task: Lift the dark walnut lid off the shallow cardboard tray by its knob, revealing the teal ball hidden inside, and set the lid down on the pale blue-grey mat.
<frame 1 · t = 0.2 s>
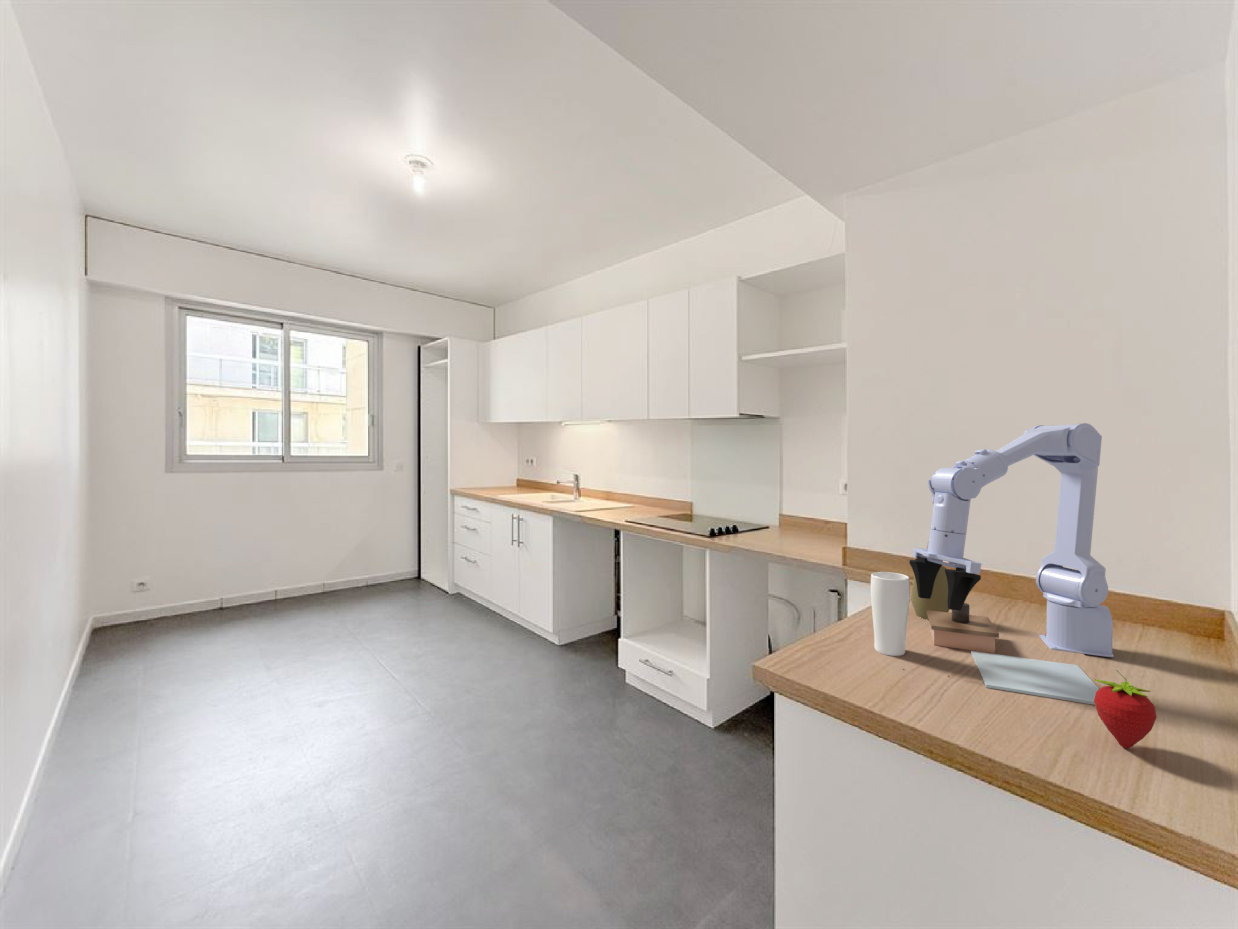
hand: (938, 603, 98), 11 cm above the table, tool pointing down, fingers open, 7 cm apart
strawberry: (1123, 748, 69), on the table
lid: (960, 625, 106), point 3 cm above the table, touching shallow cardboard tray
mat: (1033, 677, 90), on the table
squeeze bottle: (930, 618, 122), on the table
shallow cardboard tray: (960, 642, 106), on the table
white cup: (889, 653, 101), on the table
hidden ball: (960, 640, 106), resting on shallow cardboard tray
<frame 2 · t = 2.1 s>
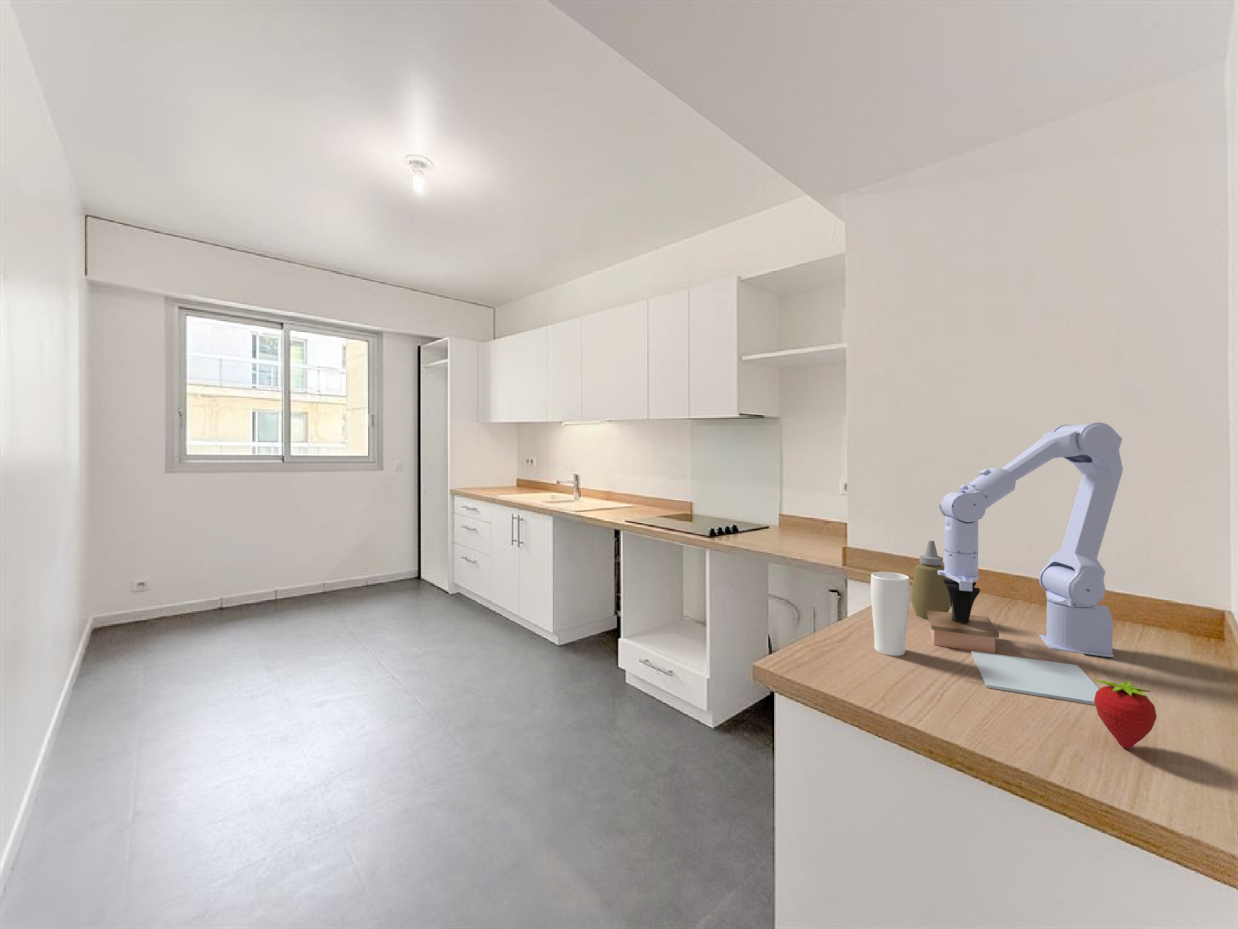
hand: (960, 617, 106), 5 cm above the table, tool pointing down, fingers closed on lid, 3 cm apart
lid: (960, 625, 106), point 3 cm above the table, touching shallow cardboard tray, gripper
everything else where it was.
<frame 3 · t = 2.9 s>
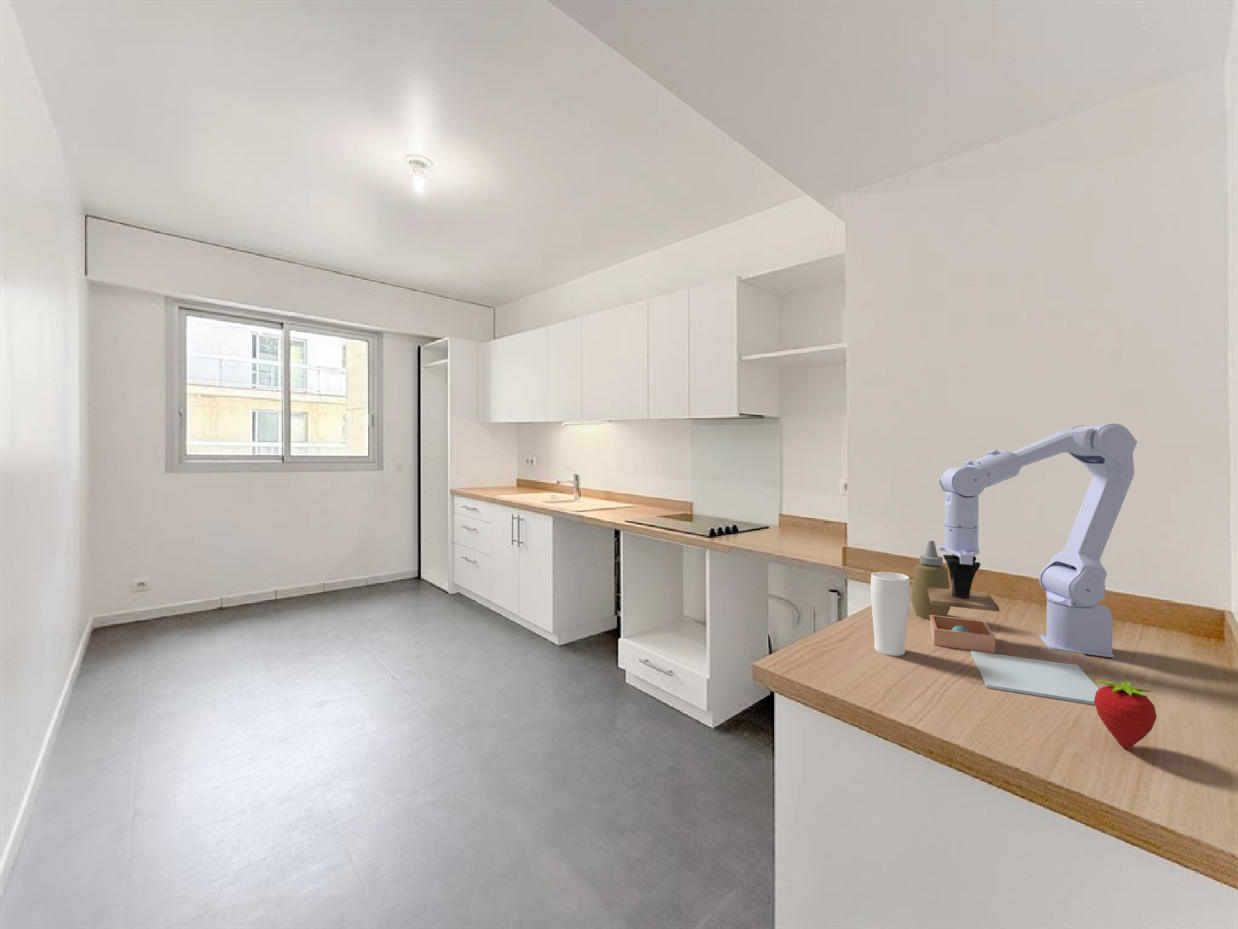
hand: (960, 592, 106), 10 cm above the table, tool pointing down, fingers closed on lid, 3 cm apart
lid: (960, 600, 106), point 9 cm above the table, touching gripper
everything else where it was.
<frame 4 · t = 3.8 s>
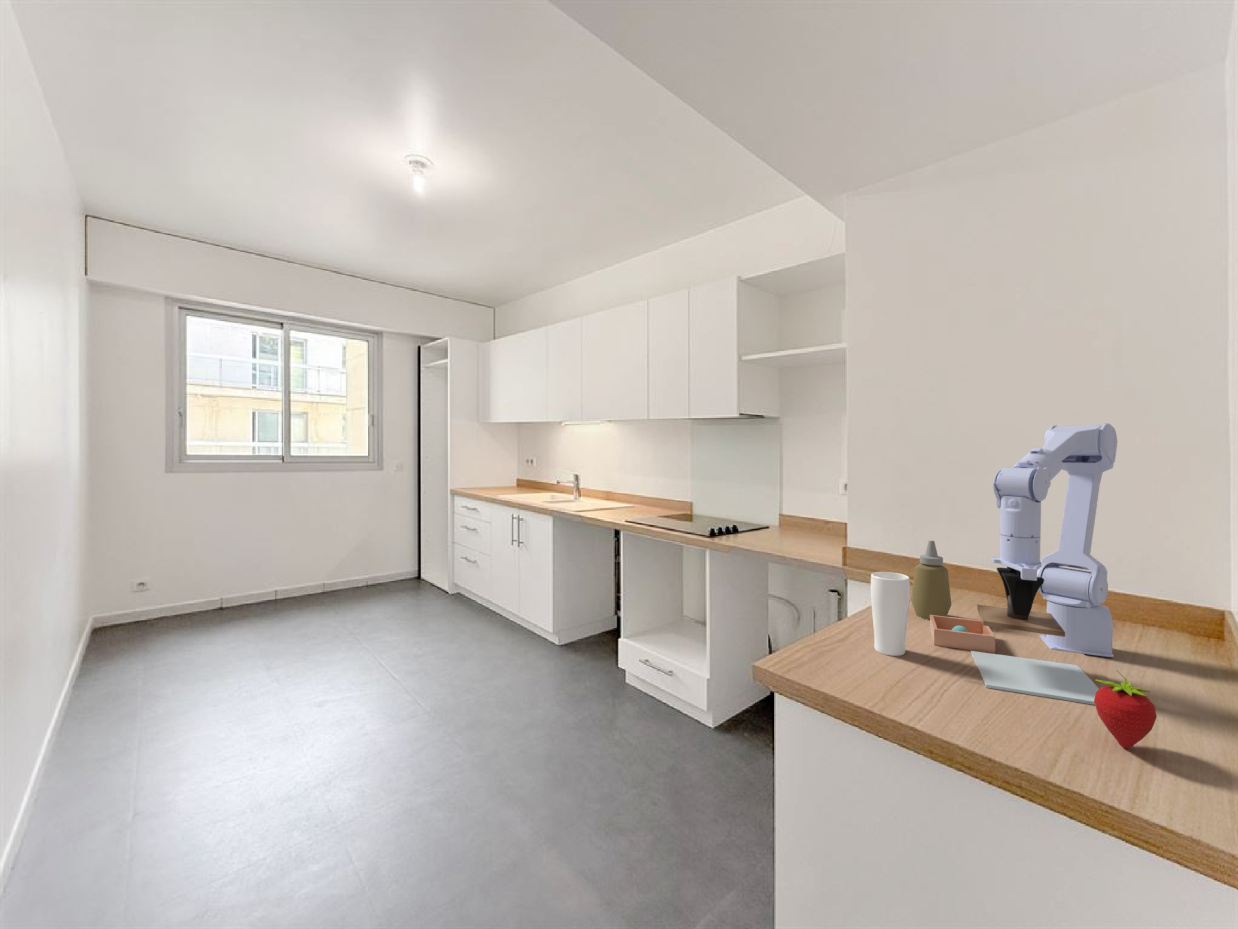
hand: (1018, 611, 93), 10 cm above the table, tool pointing down, fingers closed on lid, 3 cm apart
lid: (1017, 621, 93), point 9 cm above the table, touching gripper
everything else where it was.
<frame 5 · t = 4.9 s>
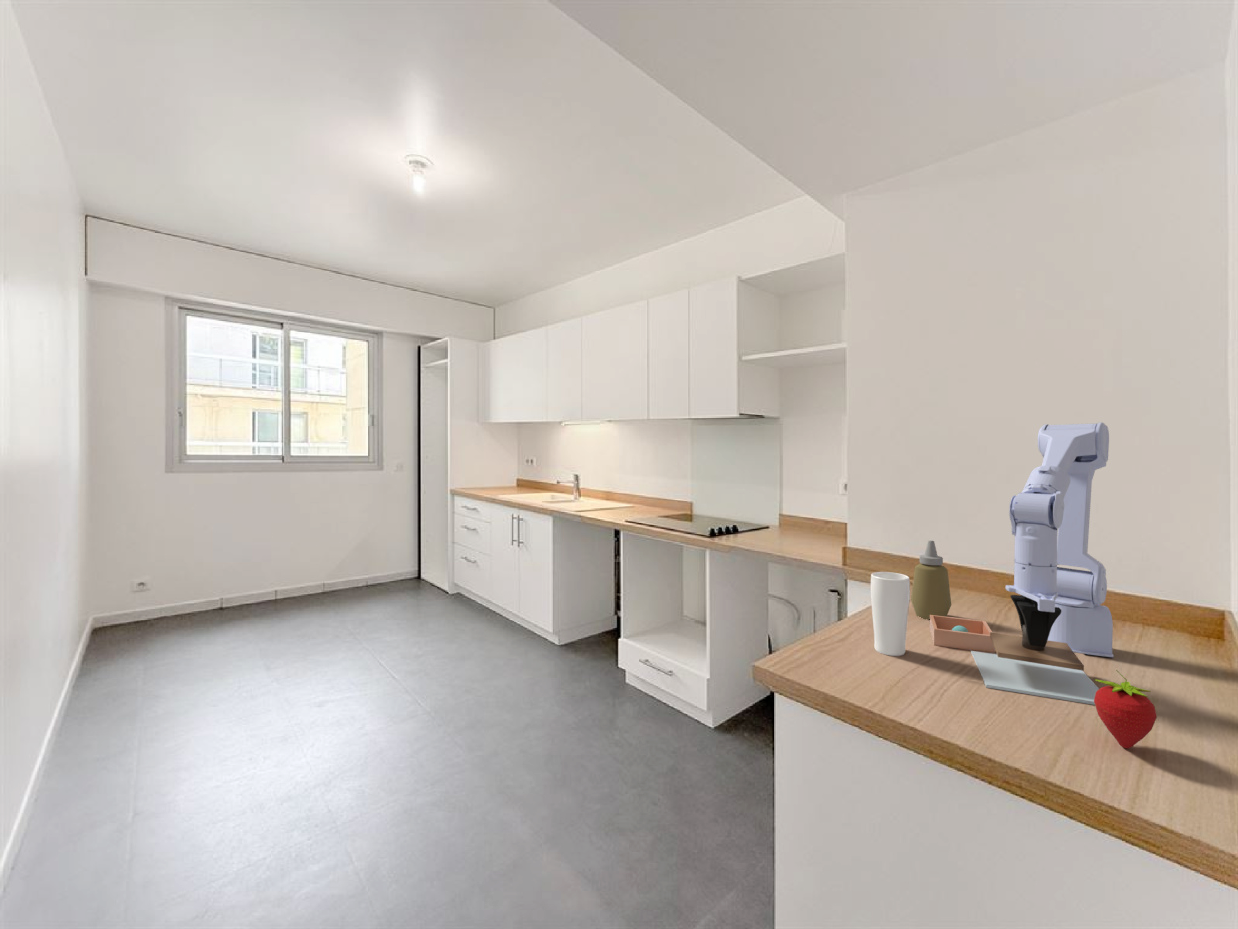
hand: (1034, 642, 90), 6 cm above the table, tool pointing down, fingers closed on lid, 3 cm apart
lid: (1032, 652, 90), point 4 cm above the table, touching gripper
everything else where it was.
when the fingers open (3 cm above the table, at t = 5.8 s): lid stays where it is, resting on mat.
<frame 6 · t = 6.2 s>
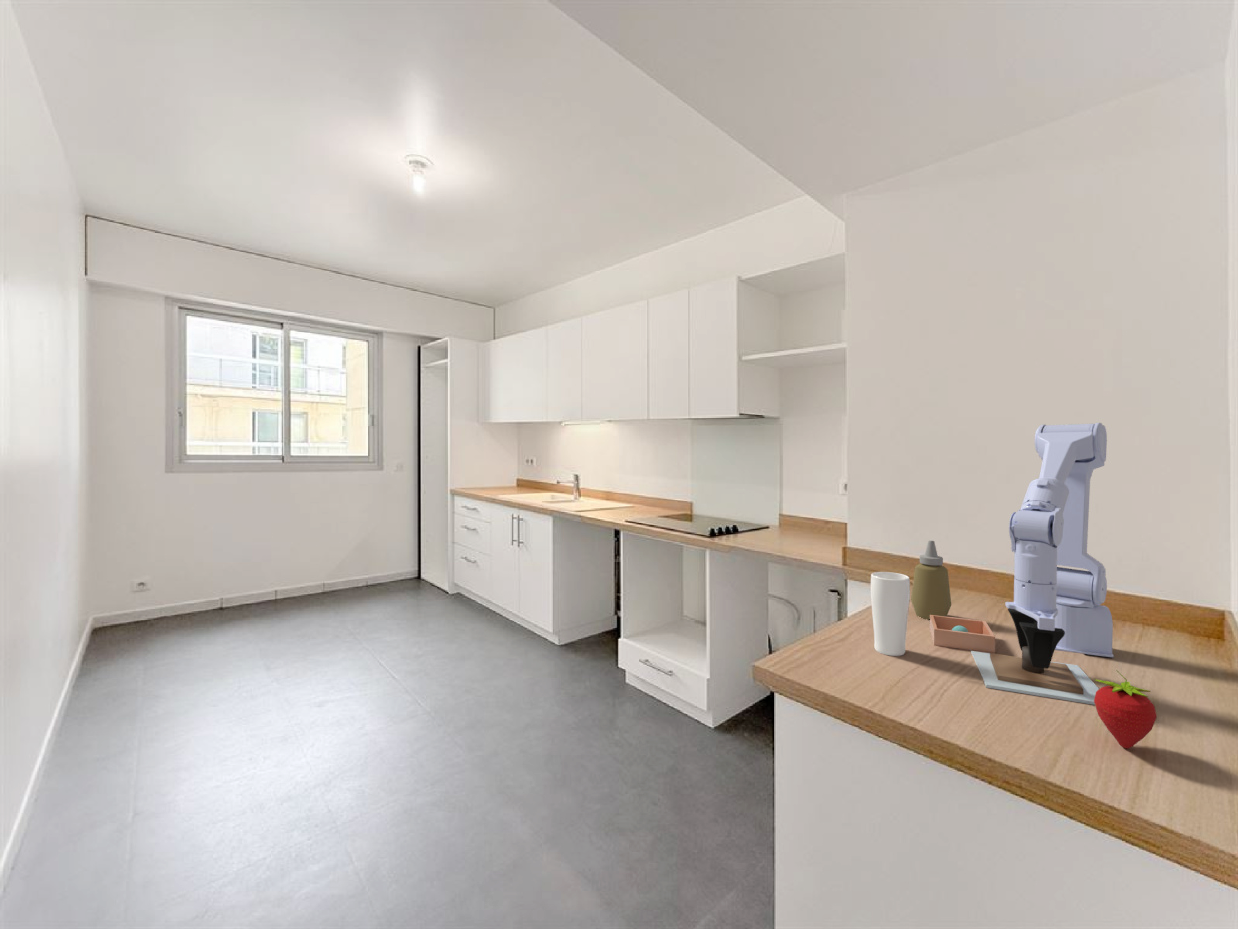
hand: (1033, 659, 90), 3 cm above the table, tool pointing down, fingers open, 7 cm apart
lid: (1032, 674, 90), resting on mat
everything else where it was.
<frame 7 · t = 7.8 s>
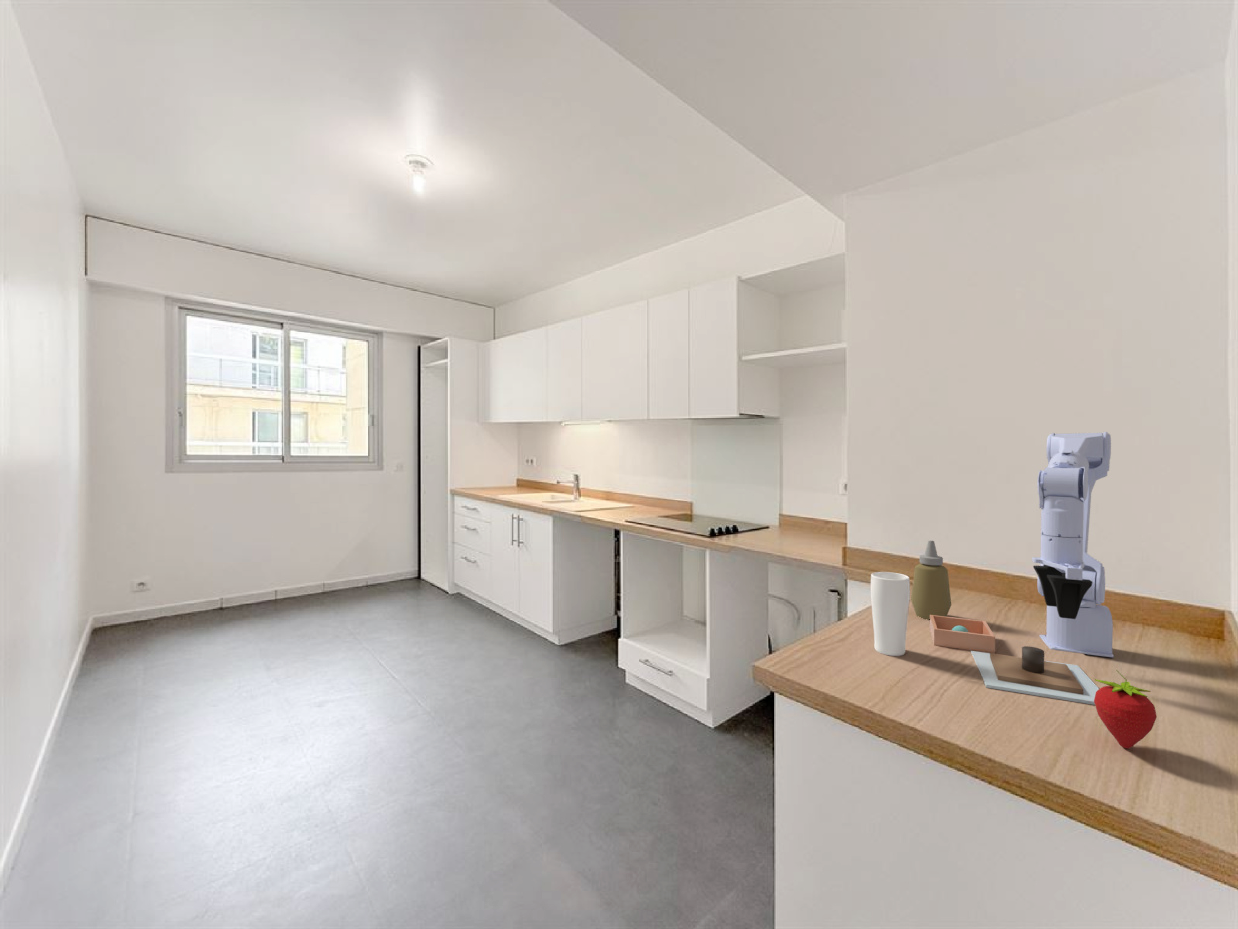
hand: (1060, 611, 93), 10 cm above the table, tool pointing down, fingers open, 7 cm apart
nothing on the table moved.
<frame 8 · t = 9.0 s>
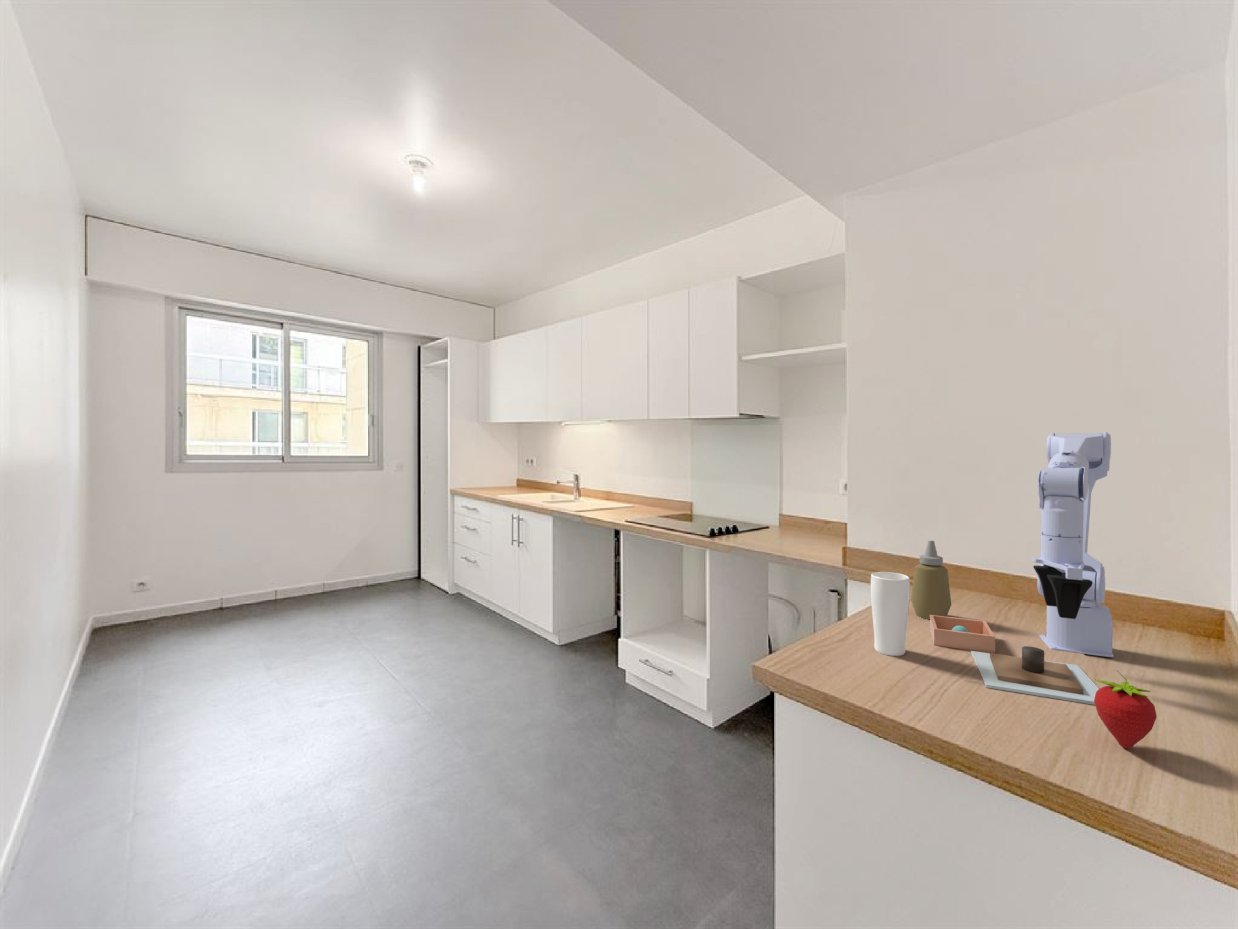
hand: (1060, 611, 93), 10 cm above the table, tool pointing down, fingers open, 7 cm apart
nothing on the table moved.
at the end: lid inside the target area on the mat (0.1 cm from its centre), point 0.5 cm above the mat's base; lid tilted 0°; the gripper is holding nothing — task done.
